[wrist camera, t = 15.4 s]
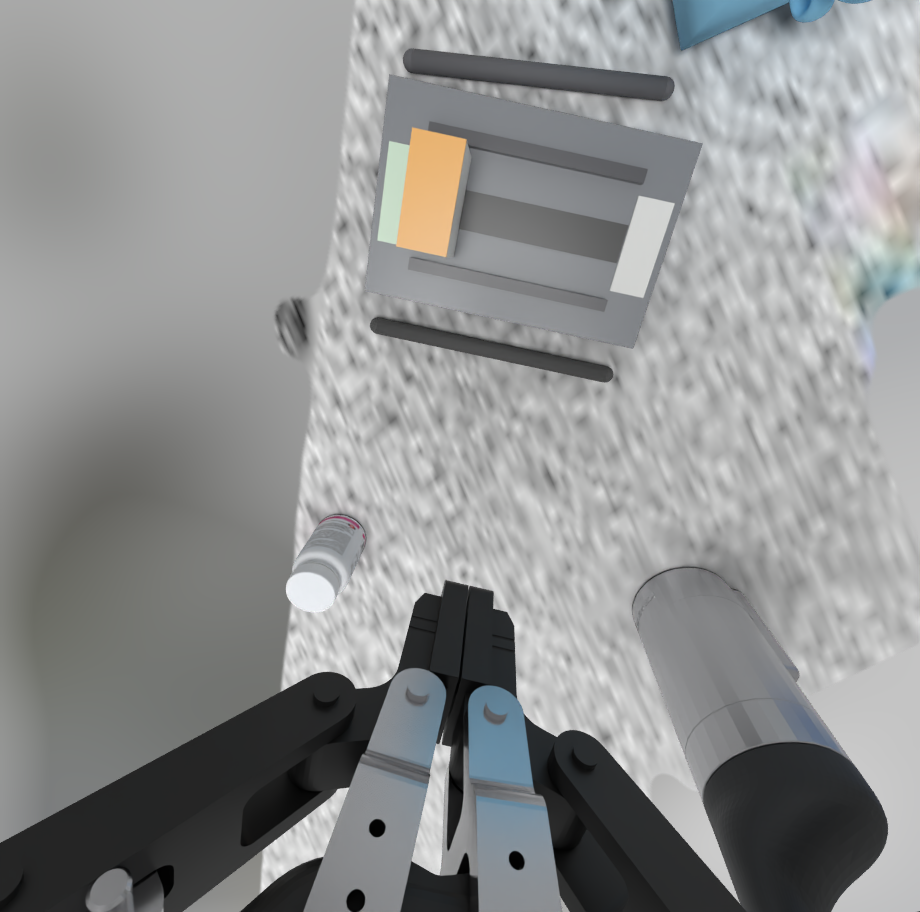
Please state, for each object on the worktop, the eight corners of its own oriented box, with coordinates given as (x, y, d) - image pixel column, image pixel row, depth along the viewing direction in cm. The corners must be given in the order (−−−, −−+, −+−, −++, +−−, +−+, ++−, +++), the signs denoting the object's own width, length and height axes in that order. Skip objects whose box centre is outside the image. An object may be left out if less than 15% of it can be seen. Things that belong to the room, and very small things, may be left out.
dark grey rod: (613, 367, 38) (616, 370, 37) (608, 381, 38) (612, 385, 37) (373, 315, 38) (369, 317, 36) (371, 330, 38) (367, 333, 37)
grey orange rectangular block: (471, 157, 31) (466, 139, 26) (453, 257, 33) (446, 257, 28) (425, 147, 31) (412, 127, 26) (410, 247, 33) (396, 246, 28)
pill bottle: (307, 525, 45) (268, 580, 38) (349, 505, 44) (317, 558, 36) (335, 563, 47) (302, 624, 39) (376, 545, 46) (351, 604, 38)
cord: (673, 81, 31) (679, 74, 30) (667, 103, 31) (674, 98, 30) (405, 51, 31) (402, 44, 30) (404, 74, 32) (401, 67, 30)
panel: (690, 150, 32) (707, 140, 29) (626, 344, 37) (636, 350, 34) (395, 84, 32) (386, 69, 29) (371, 289, 37) (361, 291, 34)
